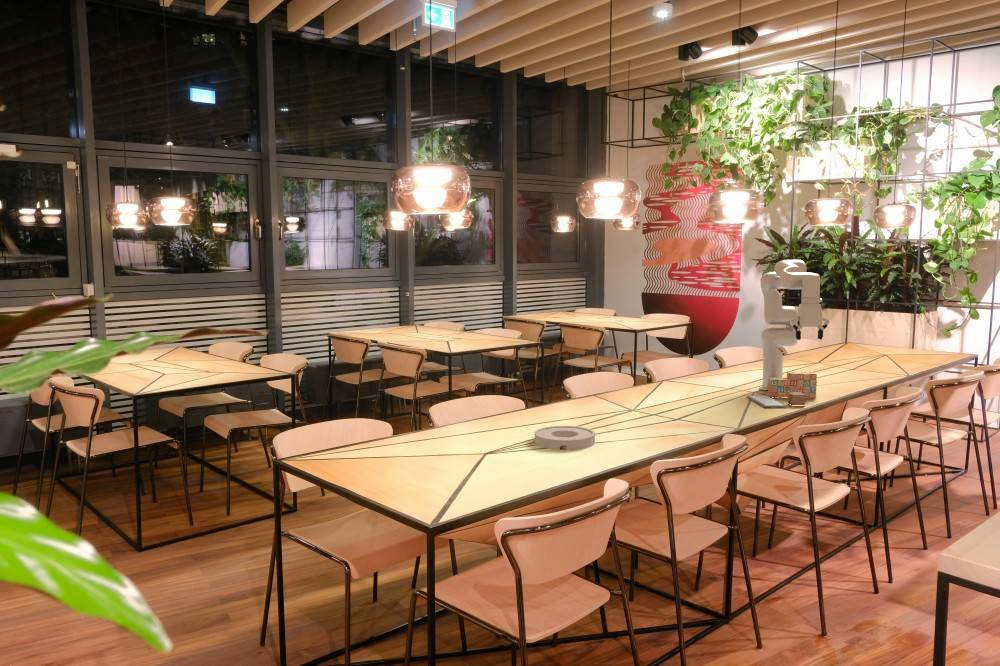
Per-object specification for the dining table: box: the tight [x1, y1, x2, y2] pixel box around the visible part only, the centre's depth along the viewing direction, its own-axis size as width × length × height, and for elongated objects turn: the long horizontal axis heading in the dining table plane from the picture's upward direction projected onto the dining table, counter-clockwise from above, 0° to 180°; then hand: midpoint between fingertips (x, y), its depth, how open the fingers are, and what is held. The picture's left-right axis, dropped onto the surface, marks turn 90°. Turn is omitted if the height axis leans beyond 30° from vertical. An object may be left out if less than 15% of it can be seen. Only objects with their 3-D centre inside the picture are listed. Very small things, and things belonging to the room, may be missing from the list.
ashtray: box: [534, 425, 596, 451], centre depth 296 cm, size 23×23×4 cm
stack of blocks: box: [767, 371, 818, 399], centre depth 375 cm, size 21×6×12 cm, turn 84°
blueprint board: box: [746, 394, 788, 408], centre depth 363 cm, size 25×10×1 cm, turn 0°
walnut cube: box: [787, 392, 806, 406], centre depth 356 cm, size 6×6×6 cm
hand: (809, 339), depth 348 cm, fingers open, 9 cm apart
